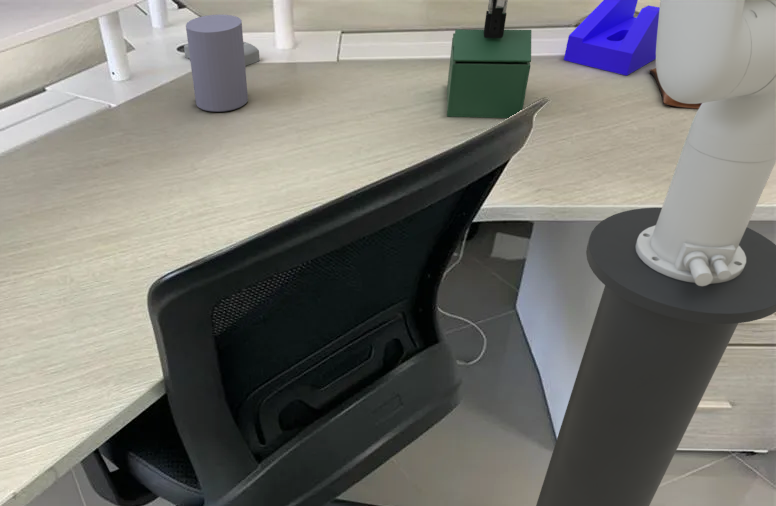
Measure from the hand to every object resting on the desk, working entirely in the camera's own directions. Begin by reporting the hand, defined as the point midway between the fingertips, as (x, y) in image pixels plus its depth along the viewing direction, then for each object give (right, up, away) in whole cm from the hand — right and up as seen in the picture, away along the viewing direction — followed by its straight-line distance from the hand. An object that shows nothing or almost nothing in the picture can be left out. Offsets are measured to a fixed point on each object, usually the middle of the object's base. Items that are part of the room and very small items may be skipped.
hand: (493, 36), depth 122 cm
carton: (+1, -8, +11) cm, 13 cm away
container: (-48, -6, +17) cm, 52 cm away
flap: (0, -2, 0) cm, 2 cm away
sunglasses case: (+38, -6, +10) cm, 40 cm away
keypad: (-50, +10, +36) cm, 62 cm away
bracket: (+35, +7, +26) cm, 44 cm away
